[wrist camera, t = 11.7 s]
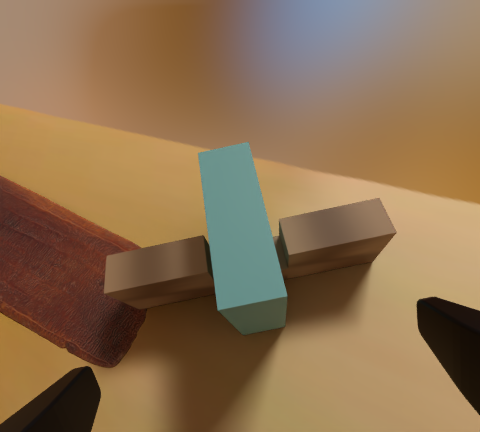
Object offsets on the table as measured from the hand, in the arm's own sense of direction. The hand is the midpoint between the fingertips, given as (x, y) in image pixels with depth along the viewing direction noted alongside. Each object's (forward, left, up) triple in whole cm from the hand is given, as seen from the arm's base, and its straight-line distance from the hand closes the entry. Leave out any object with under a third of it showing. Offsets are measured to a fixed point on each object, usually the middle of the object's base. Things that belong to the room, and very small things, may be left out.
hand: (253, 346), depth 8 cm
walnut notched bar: (+6, -2, -13) cm, 14 cm away
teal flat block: (+6, -2, -13) cm, 14 cm away
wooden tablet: (+18, +14, -14) cm, 26 cm away
